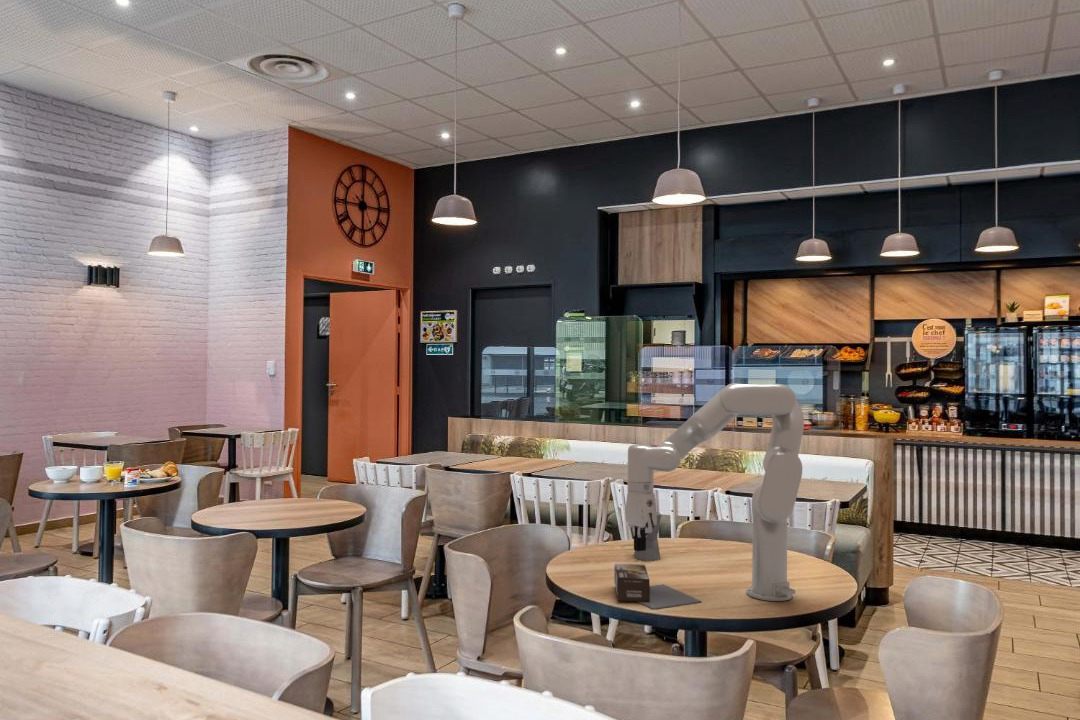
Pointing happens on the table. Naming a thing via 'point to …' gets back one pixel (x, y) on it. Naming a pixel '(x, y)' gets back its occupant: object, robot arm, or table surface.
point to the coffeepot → (650, 545)
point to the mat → (667, 598)
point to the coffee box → (631, 582)
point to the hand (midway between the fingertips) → (639, 550)
